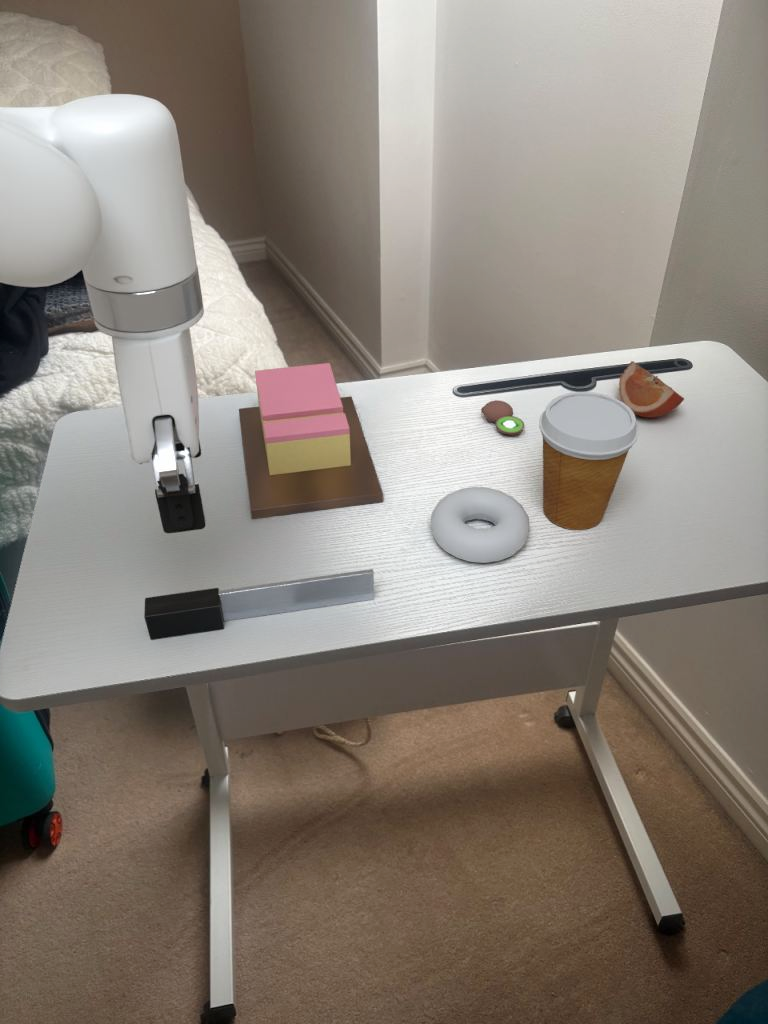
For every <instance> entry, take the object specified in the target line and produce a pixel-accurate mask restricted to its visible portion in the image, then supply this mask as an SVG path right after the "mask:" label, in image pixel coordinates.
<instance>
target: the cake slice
mask: <svg viewBox="0 0 768 1024" xmlns="http://www.w3.org/2000/svg"><path fill="white" fill-rule="evenodd" d="M263 427H264V435H265V444H266V453H267V461H268V467H269V474H270V475H277V474H285V473H293V472H301V471H310V470H318V469H326V468H334V467H342V466H350V465H351V456H350V429H349V425H348V422H347V418H346V415H345V413H343V414H334V415H326V416H317V417H308V418H299V419H290V420H281V421H272V422H263Z"/></svg>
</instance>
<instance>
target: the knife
mask: <svg viewBox="0 0 768 1024" xmlns="http://www.w3.org/2000/svg"><path fill="white" fill-rule="evenodd" d="M371 600H375V573H374V569H373V568H370V569H363V570H357V571H356V570H355V571H349V572H343V573H342V572H341V573H336V574H329V575H321V576H313V577H306V578H300V579H292V580H285V581H280V582H279V581H277V582H271V583H265V584H257V585H251V586H250V585H249V586H244V587H243V586H241V587H236V588H235V587H234V588H229V589H221V590H220V589H219V587H213V588H207V589H200V590H193V591H192V590H191V591H185V592H184V591H183V592H178V593H170V594H164V595H157V596H150V597H145V598H144V613H143V614H144V615H143V618H144V620H145V624H146V628H147V632H148V637H149V639H150V640H151V641H153V640H159V639H166V638H172V637H179V636H186V635H192V634H193V635H194V634H199V633H206V632H211V631H212V632H214V631H220V630H224V629H225V623H224V622H230V621H236V620H242V619H249V618H256V617H263V616H269V615H277V614H282V613H283V614H284V613H291V612H296V611H303V610H310V609H317V608H318V609H319V608H325V607H332V606H339V605H344V604H352V603H356V602H365V601H371Z"/></svg>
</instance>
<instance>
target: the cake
mask: <svg viewBox="0 0 768 1024" xmlns="http://www.w3.org/2000/svg"><path fill="white" fill-rule="evenodd" d="M254 375H255V384H256V393H257V401H258V406H259V409H260V416H261V422H262V428H263V435H264V427H263V422H272V421H281V420H290V419H299V418H308V417H317V416H326V415H334V414H343V405H342V402H341V399H340V398H341V396H340V392H339V389H338V385H337V382H336V379H335V376H334V373H333V368H332V366H331V363H330V362H326V363H316V364H305V365H296V366H286V367H278V368H276V367H275V368H267V369H258V370H254ZM264 441H265V435H264ZM265 448H266V444H265Z"/></svg>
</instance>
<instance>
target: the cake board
mask: <svg viewBox="0 0 768 1024" xmlns="http://www.w3.org/2000/svg"><path fill="white" fill-rule="evenodd" d="M340 399H341V402H342V405H343V413H345V415H346V418H347V422H348V425H349V429H350V456H351V465H350V466H342V467H334V468H326V469H318V470H310V471H301V472H293V473H285V474H277V475H270V474H269V467H268V461H267V453H266V448H265V441H264V435H263V428H262V422H261V416H260V409H259V405H258V406H251V407H242V408H241V407H240V408H238V418H239V424H240V425H239V426H240V433H241V441H242V450H243V457H244V466H245V473H246V475H245V476H246V482H247V491H248V492H247V493H248V500H249V507H250V515H251V516H250V517H251V520H256V519H263V518H264V519H265V518H270V517H278V516H286V515H294V514H295V515H296V514H300V513H301V514H303V513H308V512H309V513H310V512H316V511H325V510H332V509H333V510H334V509H339V508H341V509H342V508H347V507H356V506H363V505H373V504H379V503H383V502H384V493H383V490H382V487H381V483H380V481H379V477H378V473H377V472H376V471H377V470H376V468H375V465H374V462H373V459H372V455H371V453H370V449H369V446H368V443H367V440H366V437H365V434H364V431H363V428H362V425H361V421H360V419H359V416H358V411H357V409H356V406H355V402H354V400H353V396H351V395H350V396H342V397H341V396H340Z"/></svg>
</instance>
